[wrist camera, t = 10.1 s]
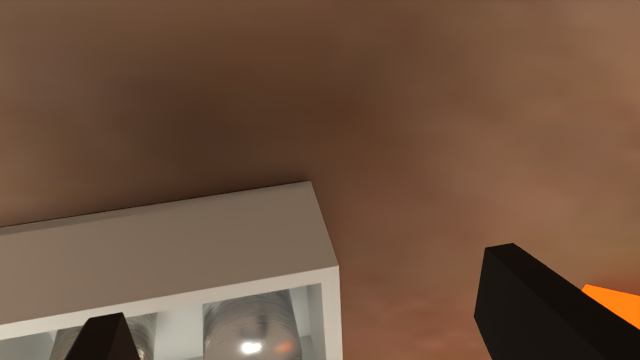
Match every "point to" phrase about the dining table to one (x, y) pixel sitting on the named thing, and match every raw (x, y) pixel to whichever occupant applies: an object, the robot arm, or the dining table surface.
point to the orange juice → (617, 303)
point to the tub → (171, 270)
